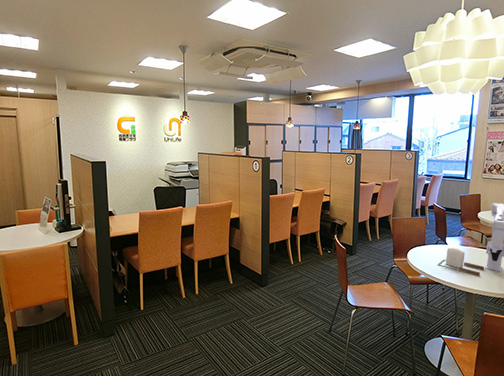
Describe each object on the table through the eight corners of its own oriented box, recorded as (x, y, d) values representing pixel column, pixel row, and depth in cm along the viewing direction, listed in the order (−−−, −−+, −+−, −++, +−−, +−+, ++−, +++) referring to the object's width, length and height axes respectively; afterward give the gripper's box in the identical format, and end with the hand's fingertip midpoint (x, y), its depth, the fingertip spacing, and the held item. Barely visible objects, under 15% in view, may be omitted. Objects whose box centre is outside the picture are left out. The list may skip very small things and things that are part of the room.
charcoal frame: (443, 259, 220) (443, 259, 220) (462, 264, 211) (462, 264, 211) (437, 265, 210) (437, 264, 210) (456, 270, 201) (456, 269, 201)
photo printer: (464, 268, 205) (466, 250, 203) (460, 269, 203) (462, 251, 201) (447, 262, 214) (449, 245, 212) (444, 264, 212) (446, 246, 210)
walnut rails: (464, 264, 211) (464, 262, 210) (483, 269, 203) (484, 266, 202) (458, 270, 201) (459, 267, 201) (479, 275, 193) (479, 272, 193)
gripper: (491, 235, 196) (489, 256, 198) (486, 240, 187) (484, 261, 189) (505, 238, 191) (502, 259, 193) (501, 243, 182) (498, 265, 184)
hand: (494, 260), depth 191 cm, fingers closed
